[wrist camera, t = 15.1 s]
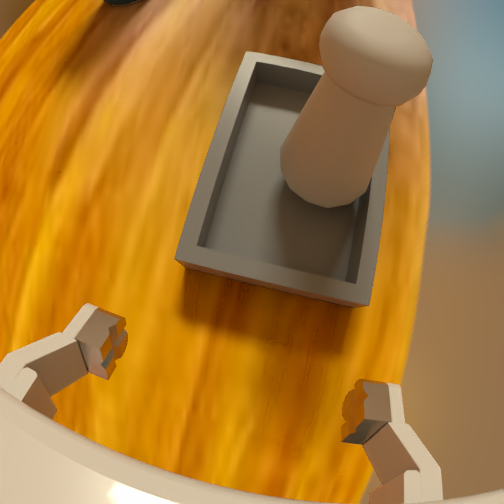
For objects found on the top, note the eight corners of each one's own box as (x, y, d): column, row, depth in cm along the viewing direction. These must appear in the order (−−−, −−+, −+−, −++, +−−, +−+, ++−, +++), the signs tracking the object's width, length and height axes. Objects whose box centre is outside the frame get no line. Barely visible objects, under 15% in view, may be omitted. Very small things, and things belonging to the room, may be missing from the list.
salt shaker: (341, 234, 20) (450, 123, 8) (261, 193, 21) (275, 37, 8) (371, 164, 21) (461, 34, 9) (298, 128, 22) (334, -27, 9)
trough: (352, 307, 20) (368, 305, 17) (184, 267, 20) (174, 258, 17) (378, 108, 23) (390, 86, 20) (246, 76, 24) (246, 50, 21)
